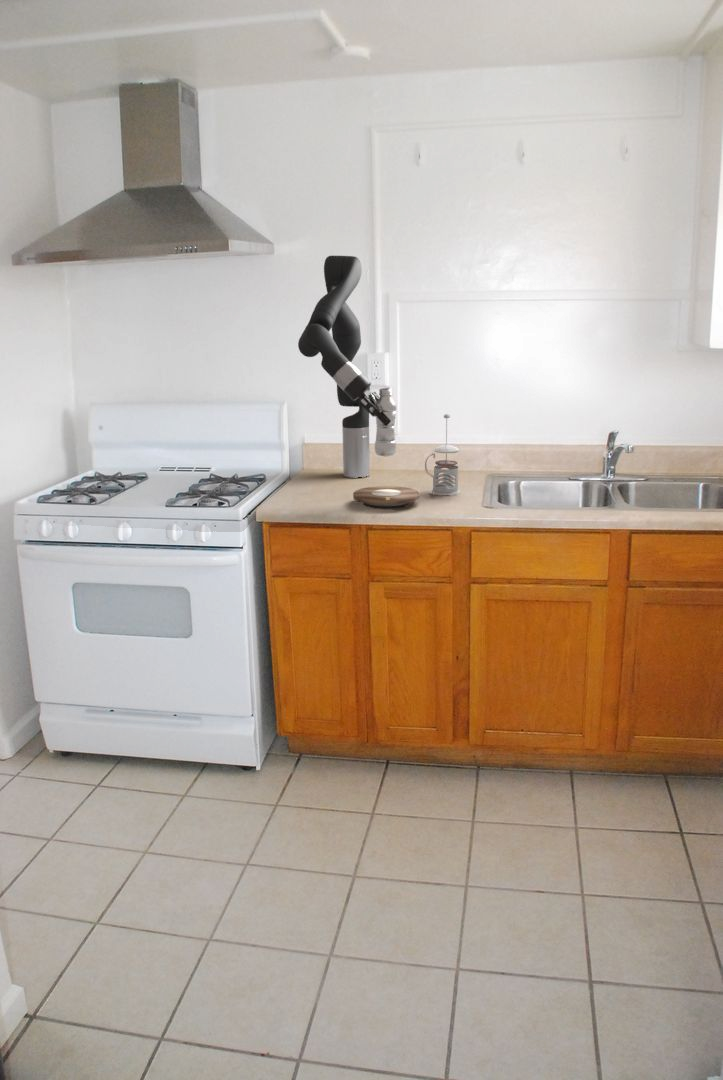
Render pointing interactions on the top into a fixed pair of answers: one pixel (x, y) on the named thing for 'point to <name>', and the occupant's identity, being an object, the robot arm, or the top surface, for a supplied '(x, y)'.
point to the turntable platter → (386, 495)
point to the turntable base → (386, 506)
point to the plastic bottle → (385, 434)
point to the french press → (452, 470)
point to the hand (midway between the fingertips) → (390, 421)
